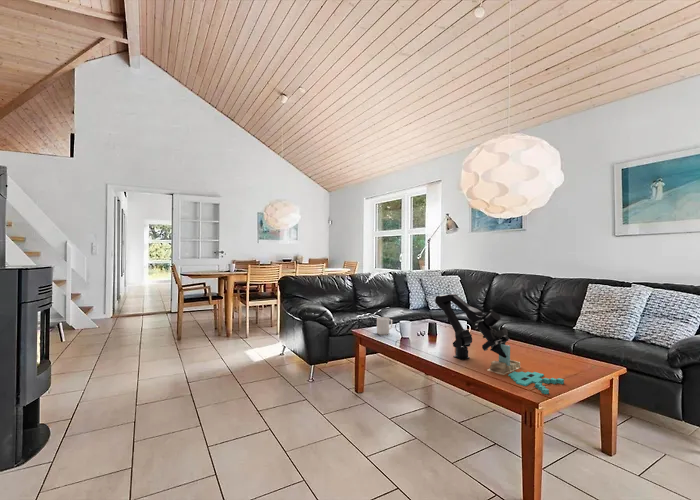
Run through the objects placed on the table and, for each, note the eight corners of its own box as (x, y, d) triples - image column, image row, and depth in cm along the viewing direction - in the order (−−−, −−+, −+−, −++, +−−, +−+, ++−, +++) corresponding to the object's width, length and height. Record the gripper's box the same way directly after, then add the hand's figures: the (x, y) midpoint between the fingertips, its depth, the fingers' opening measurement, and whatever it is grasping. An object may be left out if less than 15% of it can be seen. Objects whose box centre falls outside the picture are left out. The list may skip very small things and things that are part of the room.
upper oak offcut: (491, 366, 186) (491, 362, 186) (494, 364, 189) (494, 360, 189) (503, 369, 182) (503, 365, 182) (506, 367, 185) (506, 363, 185)
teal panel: (498, 367, 190) (498, 344, 190) (500, 366, 191) (500, 343, 191) (507, 370, 186) (508, 346, 186) (509, 369, 187) (510, 345, 187)
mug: (380, 335, 258) (380, 320, 258) (374, 333, 266) (374, 317, 266) (395, 334, 264) (395, 318, 264) (388, 331, 272) (388, 316, 272)
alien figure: (563, 384, 172) (520, 372, 187) (563, 379, 172) (520, 368, 187) (546, 395, 159) (501, 382, 174) (546, 390, 159) (501, 377, 174)
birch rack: (486, 371, 186) (486, 365, 186) (504, 364, 198) (504, 358, 198) (503, 376, 179) (503, 369, 179) (521, 369, 191) (521, 362, 191)
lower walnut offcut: (490, 369, 187) (490, 365, 187) (494, 368, 189) (494, 364, 189) (503, 373, 181) (503, 369, 181) (507, 371, 184) (507, 367, 184)
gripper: (487, 325, 185) (508, 351, 177) (506, 320, 197) (527, 345, 189) (473, 337, 192) (493, 364, 183) (492, 332, 203) (511, 356, 195)
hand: (507, 357), depth 187 cm, fingers closed on teal panel, 2 cm apart
